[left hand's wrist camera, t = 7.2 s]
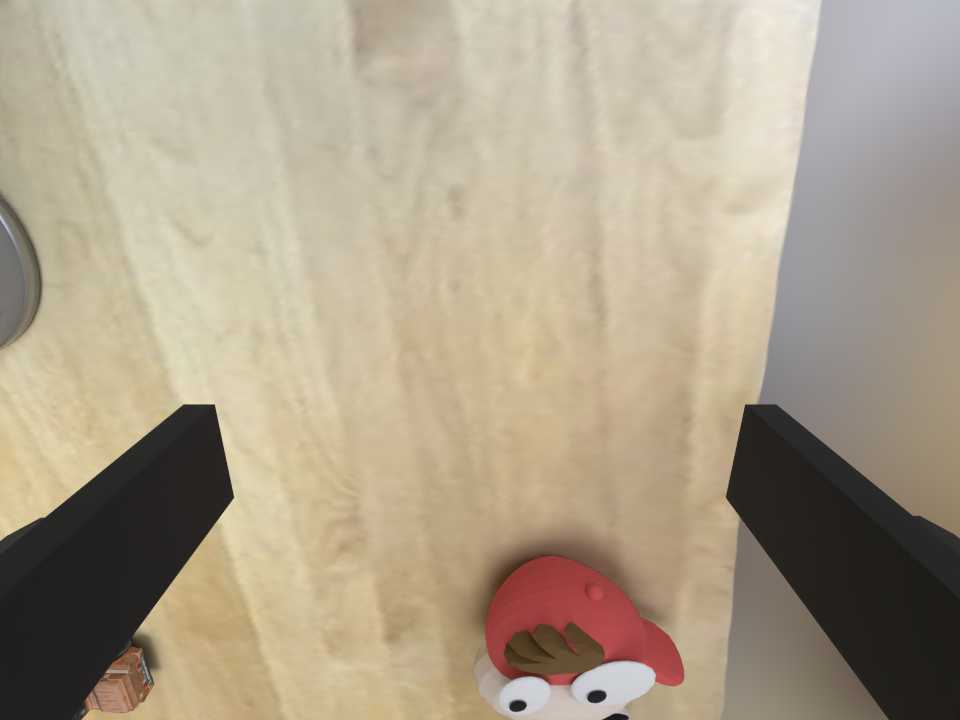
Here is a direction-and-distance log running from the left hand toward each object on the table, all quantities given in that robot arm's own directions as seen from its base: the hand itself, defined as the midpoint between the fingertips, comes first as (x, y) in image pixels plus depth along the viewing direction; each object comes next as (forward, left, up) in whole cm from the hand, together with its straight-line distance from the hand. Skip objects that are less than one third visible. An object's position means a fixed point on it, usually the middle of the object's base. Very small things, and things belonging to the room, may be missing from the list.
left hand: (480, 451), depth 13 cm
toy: (+9, -39, -25) cm, 47 cm away
